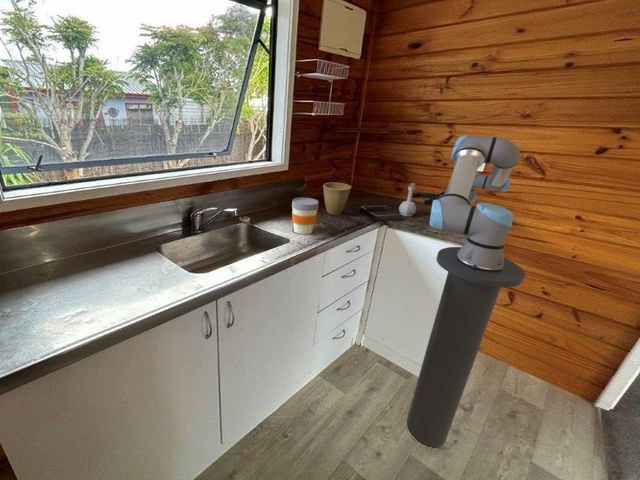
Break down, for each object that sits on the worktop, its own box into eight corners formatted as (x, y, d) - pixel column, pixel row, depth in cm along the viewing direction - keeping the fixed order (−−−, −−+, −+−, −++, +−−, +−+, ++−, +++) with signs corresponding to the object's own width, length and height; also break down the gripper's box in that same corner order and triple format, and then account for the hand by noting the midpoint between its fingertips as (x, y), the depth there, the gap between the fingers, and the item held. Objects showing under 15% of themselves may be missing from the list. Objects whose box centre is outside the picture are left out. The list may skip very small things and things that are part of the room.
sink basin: (384, 210, 179) (386, 201, 177) (401, 219, 164) (403, 210, 162) (359, 211, 176) (360, 202, 175) (373, 221, 162) (375, 211, 160)
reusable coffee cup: (320, 229, 149) (323, 200, 144) (309, 237, 139) (312, 206, 134) (297, 224, 156) (299, 196, 150) (285, 231, 146) (287, 201, 141)
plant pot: (315, 211, 175) (317, 184, 169) (333, 207, 183) (336, 181, 177) (334, 219, 163) (338, 190, 158) (353, 214, 171) (356, 186, 165)
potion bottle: (418, 215, 172) (425, 184, 165) (408, 217, 168) (415, 185, 161) (404, 210, 179) (410, 180, 172) (394, 213, 175) (400, 182, 168)
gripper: (465, 210, 164) (430, 212, 161) (432, 198, 187) (401, 199, 183) (468, 197, 161) (433, 198, 158) (435, 186, 184) (403, 187, 181)
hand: (416, 199), depth 171 cm, fingers open, 13 cm apart
